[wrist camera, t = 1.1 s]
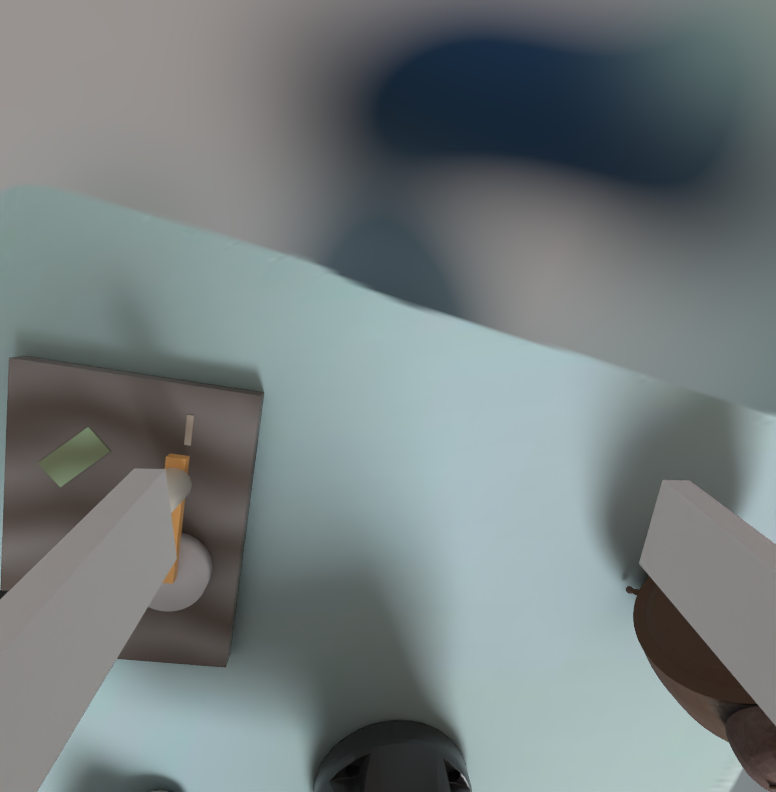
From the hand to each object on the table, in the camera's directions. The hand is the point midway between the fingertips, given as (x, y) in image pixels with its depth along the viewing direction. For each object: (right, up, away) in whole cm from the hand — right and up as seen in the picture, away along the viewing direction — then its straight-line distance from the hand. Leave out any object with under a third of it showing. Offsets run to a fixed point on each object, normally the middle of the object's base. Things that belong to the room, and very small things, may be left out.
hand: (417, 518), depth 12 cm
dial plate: (-22, -7, +25) cm, 34 cm away
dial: (-18, -7, +24) cm, 30 cm away
